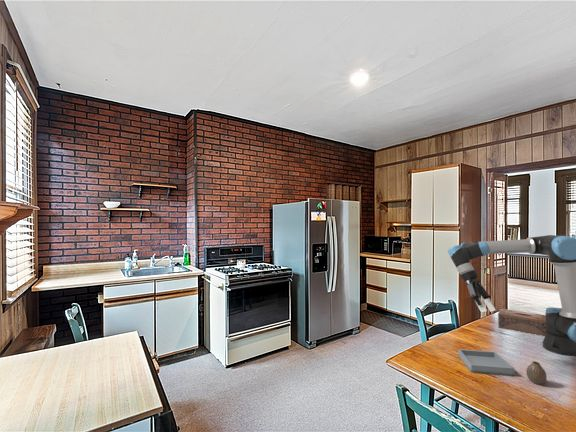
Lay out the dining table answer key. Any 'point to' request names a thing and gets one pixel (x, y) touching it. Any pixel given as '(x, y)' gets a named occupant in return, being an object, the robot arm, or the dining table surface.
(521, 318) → the tissue box cover
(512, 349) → the dining table surface
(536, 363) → the vase
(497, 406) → the dining table surface
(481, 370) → the box
